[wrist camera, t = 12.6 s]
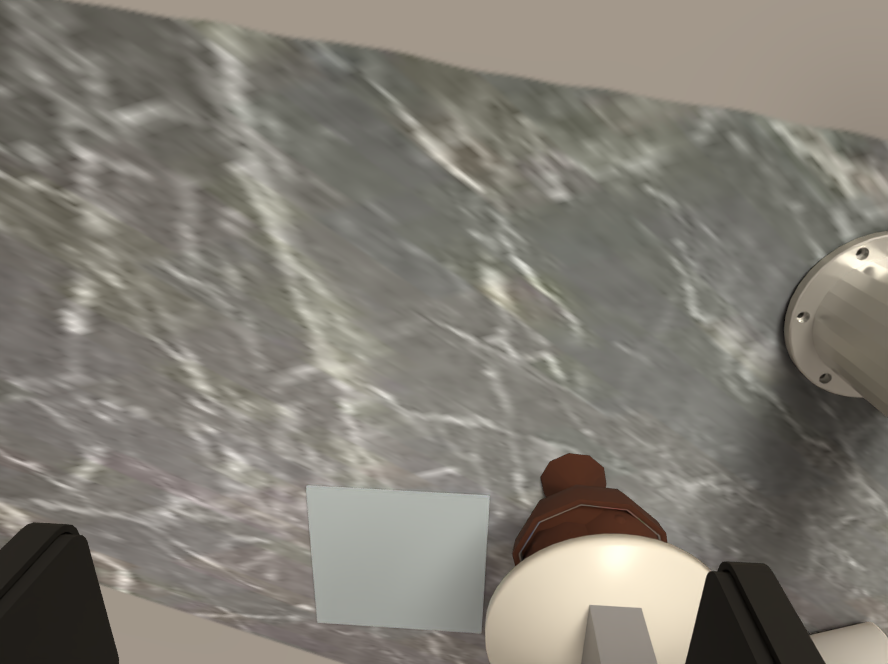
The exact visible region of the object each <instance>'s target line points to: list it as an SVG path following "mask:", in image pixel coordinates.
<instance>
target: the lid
mask: <svg viewBox="0 0 888 664" xmlns="http://www.w3.org/2000/svg"><path fill="white" fill-rule="evenodd" d="M709 571H711V570H710V569H709V568H708V567H707V566H706V565H704V564H703V563H702V562H701V561H700V560H699V559H697V558H695V557H694V556H692V555H691V554H689V553H688V552H686V551H684V550H682V549H680V548H678V547H676V546H673V545H671V544H668V543H665V542H662V541H659V540H656V539H652V538H648V537H643V536H637V535H628V534H597V535H587V536H582V537H577V538H572V539H568V540H565V541H562V542H559V543H556V544H553V545H551V546H548V547H546V548H544V549H542V550H539V551H538V552H536V553H534V554H532V555H531V556H529V557H527V558H526V559H524V560H523V561H522V562H520V563H519V564H518V565H517V566H515V567H514V568H513V569H512V570H511V571H510V572H509V573H508V574H507V575H506V576H505V577H504V578H503V580H502V581H501V582H500V584H499V585H498V586H497V588H496V590H495V592H494V593H493V595H492V597H491V599H490V602H489V606H488V609H487V613H486V620H485V642H486V650H487V655H488V659H489V661H490V664H685V662H686V658H687V654H688V649H689V645H690V641H691V637H692V633H693V629H694V625H695V621H696V616H697V612H698V608H699V604H700V600H701V596H702V592H703V588H704V583H705V579H706V576H707V574H708V573H709Z"/></svg>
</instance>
